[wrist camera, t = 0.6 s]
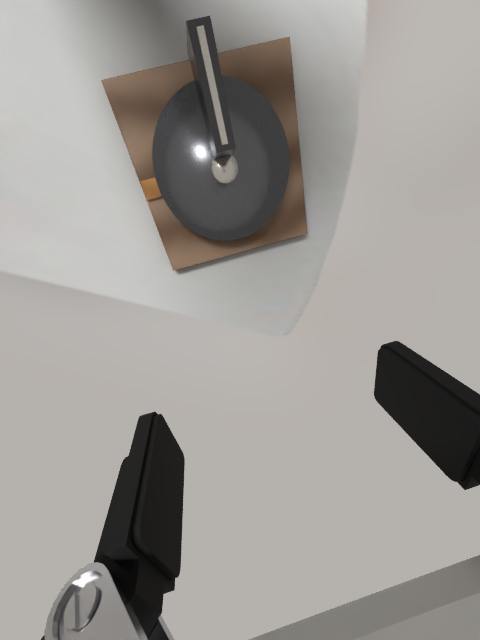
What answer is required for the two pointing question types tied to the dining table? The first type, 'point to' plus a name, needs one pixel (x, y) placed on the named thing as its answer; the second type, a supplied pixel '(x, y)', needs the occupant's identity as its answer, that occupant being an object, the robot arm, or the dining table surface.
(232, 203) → the dial
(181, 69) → the dial base plate
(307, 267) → the dining table surface
